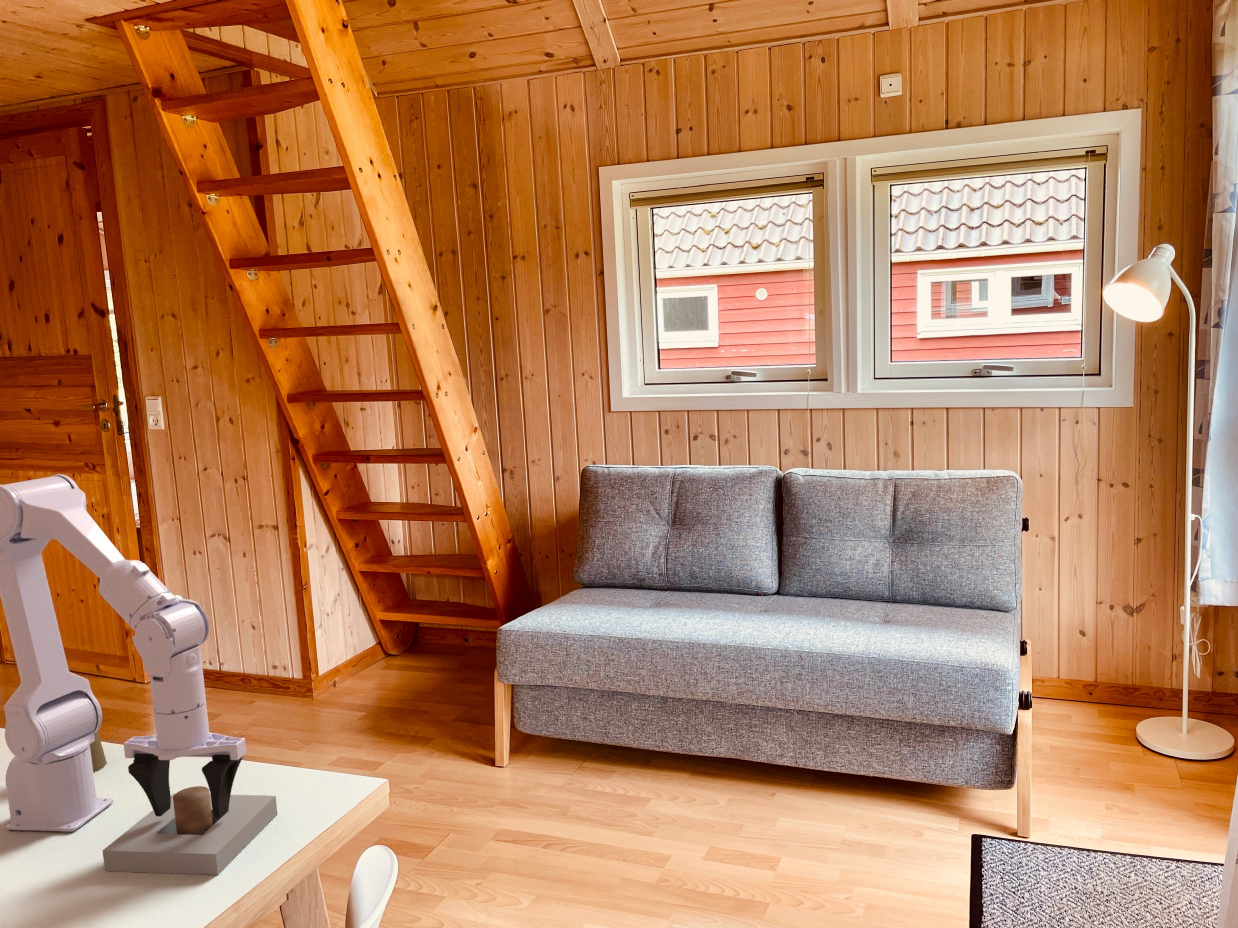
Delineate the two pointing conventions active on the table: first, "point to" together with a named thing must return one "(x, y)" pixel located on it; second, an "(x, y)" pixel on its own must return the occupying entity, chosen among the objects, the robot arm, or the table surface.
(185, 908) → the table surface
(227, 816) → the socket block
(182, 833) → the wooden peg
